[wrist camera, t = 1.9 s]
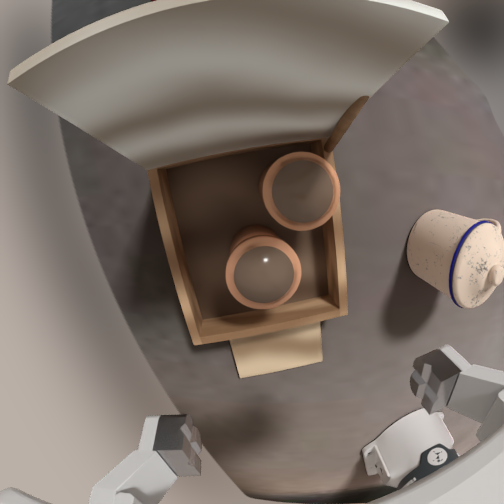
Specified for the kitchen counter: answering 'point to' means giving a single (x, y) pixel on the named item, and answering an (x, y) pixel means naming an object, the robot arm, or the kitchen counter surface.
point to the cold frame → (230, 124)
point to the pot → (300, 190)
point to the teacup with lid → (457, 255)
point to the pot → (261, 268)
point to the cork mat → (277, 350)
